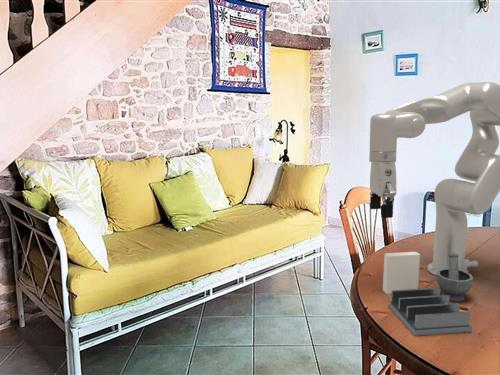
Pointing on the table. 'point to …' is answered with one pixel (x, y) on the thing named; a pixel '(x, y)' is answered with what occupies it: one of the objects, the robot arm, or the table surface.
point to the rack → (428, 312)
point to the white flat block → (400, 271)
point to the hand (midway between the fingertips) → (380, 213)
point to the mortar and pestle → (454, 280)
